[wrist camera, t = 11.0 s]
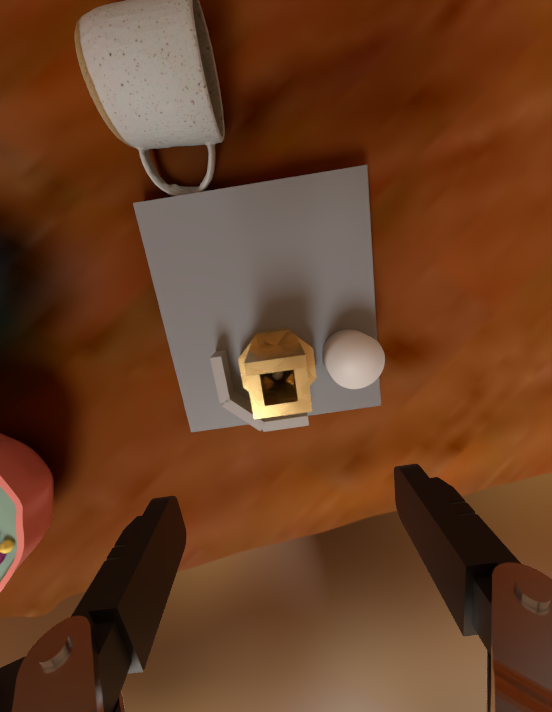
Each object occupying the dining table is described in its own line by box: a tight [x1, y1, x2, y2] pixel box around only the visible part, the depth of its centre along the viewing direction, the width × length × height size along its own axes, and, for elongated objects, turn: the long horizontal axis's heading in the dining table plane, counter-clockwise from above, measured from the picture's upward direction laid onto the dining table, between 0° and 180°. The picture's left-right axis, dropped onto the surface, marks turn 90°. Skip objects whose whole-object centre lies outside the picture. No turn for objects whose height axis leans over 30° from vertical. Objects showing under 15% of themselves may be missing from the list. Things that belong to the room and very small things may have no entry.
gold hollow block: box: [238, 327, 317, 419], centre depth 24 cm, size 7×7×6 cm
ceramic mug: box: [75, 0, 225, 196], centre depth 20 cm, size 11×8×8 cm
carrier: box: [133, 165, 385, 432], centre depth 25 cm, size 20×22×6 cm
